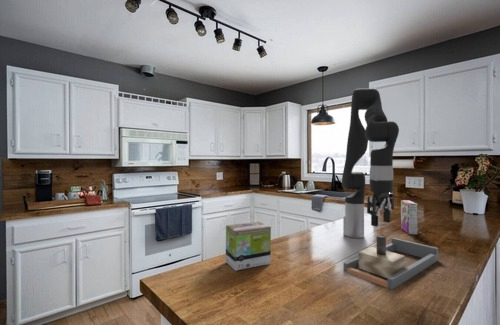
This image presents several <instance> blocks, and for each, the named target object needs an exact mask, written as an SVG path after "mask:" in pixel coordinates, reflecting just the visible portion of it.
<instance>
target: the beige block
mask: <svg viewBox="0 0 500 325" xmlns="http://www.w3.org/2000/svg"><path fill="white" fill-rule="evenodd" d="M386 245H387V237H386V236H383V235H377V236H376V247H375V246H370V247H367V248H365V249H362V250H359V251H358V256H359V267H358V269H361V270H362V271H365V272H368V273H372V274H374V275H376V276H380V277H381V278H385V279H387V278H389V277H390V276H392V275H394V274H396V273H397V272H399V271H401V270H403V269H405V268H406V256H405V255H403V254H399V253H396V252H394V251H393V252H389V251H386Z"/></svg>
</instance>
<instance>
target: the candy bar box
mask: <svg viewBox="0 0 500 325" xmlns="http://www.w3.org/2000/svg"><path fill="white" fill-rule="evenodd" d="M418 207H419V204H418V203H416V202H414V201H411V200H407V199H406V200H405V199H403V200H401V199H400V230H403V231H404V232H405V233H406V234H407V235H415V236H417V235H419V220H418V219H419V208H418Z"/></svg>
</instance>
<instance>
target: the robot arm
mask: <svg viewBox="0 0 500 325" xmlns="http://www.w3.org/2000/svg"><path fill="white" fill-rule="evenodd" d="M350 106H351V107H350V120H349V129H348V136H347V142H346V153H345V154H346V155H345V160H344V166H343V171H342V176H341V186H342V188H343V190H349V191H350V190H355V192H354V193H352V194H349V195H346V196H345V198H344V216H343V217H342V218H343V220H342V221H343V226H342V227H343V229H342V230H343V233H342V234H343V235H344V236H346V237H348V238H352V239H361V238H364V237H365V195H366V194H365V191H366V175H365V173H364V172H363V171H353V170H354V167H355V165H356V164H357V163H358V162H359V161H360V159H361V158H363V156H364V155H365V154H366V152H367V149H368V145H369V142H371V143H374V142H375V143H380V142H381V143H385V144H384V146H382V147H379V148H378V147H377V148H374V149H371V150H370V155H369V156H370V158H369V159H370V160H369V161H370V162H369V163H370V167H369V191H370V192H372V196H371V195H369V196H367V204H366V205H367V206H366V213H367V214H369V215H370V216H371V217H370V219H371V220H370V221H371V222H370V225H371V226H372V227H376V228H377V227H378V226H379V214H380V212H381V211H382V210H383V216H382V217H383V220H382V221H383V222H384V223H391V214H392V213H391V212H392V211H393V210H394V209H395V194H394V166H393V162H394V161H393V160H394V159H393V157H394V156H393V155H394V149H395V145H396V142H397V139H398V136H399V132H400V128H399V125H398V124H397V123H396V122H395V121H388V118H387V116H386V113H385V112H384V110H383V107H382V106H383V105H382V100H381V95H380V92H379V90H377V89H376V88H355V89H354V90H353V92H352V96H351V104H350ZM365 110H366V111H365ZM360 111H365V113H364V120H365V123H366V126H365V127H364V125H363V123H362V121H361V119H360V115H359V114H360V113H359V112H360Z"/></svg>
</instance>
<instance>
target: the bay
mask: <svg viewBox="0 0 500 325" xmlns="http://www.w3.org/2000/svg"><path fill="white" fill-rule="evenodd" d="M386 251H389V252H393V253H394V252H400V253H403V254H406V255H412V256H415V257H418V258H420V259H419V260H417V261H415V262H413V263H412V264H410V265H408V266H407V267H406V266H405V269H403V270H401V271H399V272H397V273H396V274H394V275H392V276H390V277H389V278H386V279H387V280H386V279H383V278H382V277H377V275H376V276H375V275H372V274H370V273H367V272H366V271H365V272H364V271H363V270H362V271H361V270H359V255H358V256H355V257H354V258H351V259H348V260H346V261H344V262H343V263H342V264H343V265H342V266H343V267H342V268H343V272H345V273H347V274H351V275H353V276H356V277H359V278H360V279H363V280H367V281H369V282H372V283H373V284H377V285H379V286H381V287H385V288H386V289H389V290H394V289H396V288H397V287H399V286H400V285H402V284H403V283H405V282H407V281H408V280H410V279H411V278H413V277H414V276H417V275H418V274H420V273H421V272H422V271H424V270H426V269H427V268H429V267H431V266H432V265H433V264H435V263H437V262H439V247H436V246H433V245H432V246H431V245H427V244H422V243H419V242H414V241H409V240H405V239H401V238H396V237H391V242H390V243H388V244H387V243H386ZM357 268H358V269H357Z"/></svg>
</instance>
